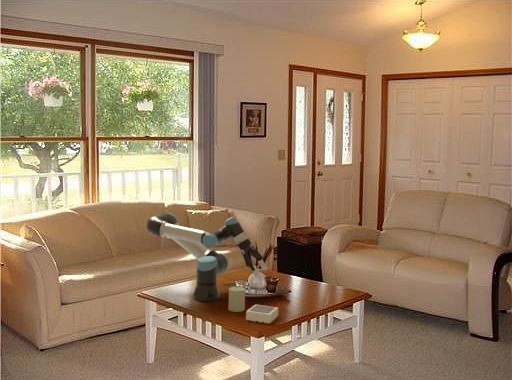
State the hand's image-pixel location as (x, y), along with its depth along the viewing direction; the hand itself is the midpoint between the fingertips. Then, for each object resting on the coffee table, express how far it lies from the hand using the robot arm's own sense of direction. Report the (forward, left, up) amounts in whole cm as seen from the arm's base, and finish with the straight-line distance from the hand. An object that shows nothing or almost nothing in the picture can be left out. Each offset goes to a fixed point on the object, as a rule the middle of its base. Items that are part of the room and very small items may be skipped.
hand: (261, 272), depth 362 cm
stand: (+13, -33, -15) cm, 39 cm away
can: (-5, -25, -15) cm, 30 cm away
